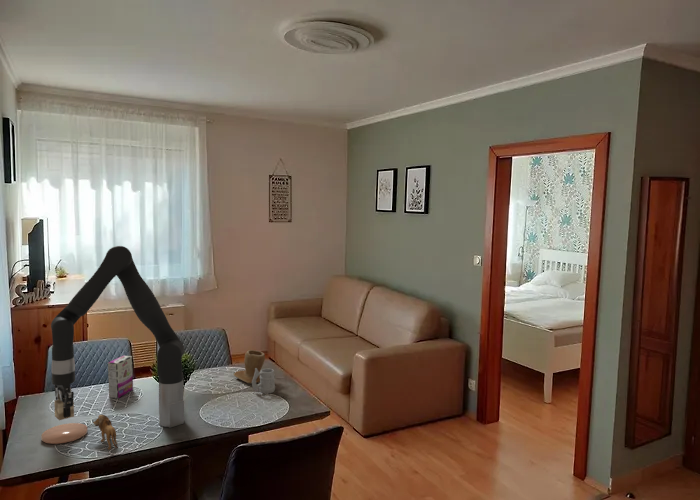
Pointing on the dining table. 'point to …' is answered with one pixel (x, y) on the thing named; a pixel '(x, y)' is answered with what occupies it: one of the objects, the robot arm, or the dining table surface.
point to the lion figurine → (106, 430)
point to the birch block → (60, 410)
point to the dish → (64, 433)
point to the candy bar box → (120, 376)
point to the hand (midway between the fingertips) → (64, 414)
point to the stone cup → (251, 366)
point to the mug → (264, 380)
